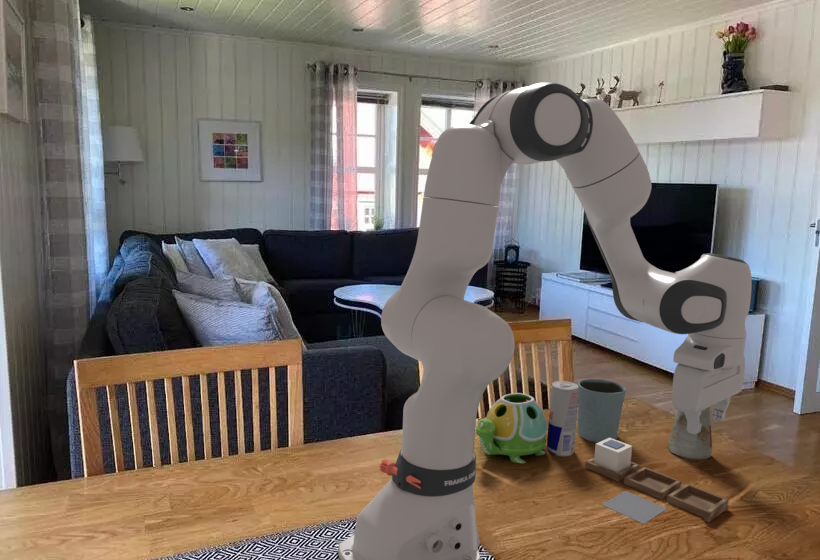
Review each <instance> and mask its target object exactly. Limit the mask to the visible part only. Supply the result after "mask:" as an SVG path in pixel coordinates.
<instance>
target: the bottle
mask: <svg viewBox="0 0 820 560" xmlns="http://www.w3.org/2000/svg"><path fill="white" fill-rule="evenodd" d="M710 407H711V406H710ZM710 407H708V408H706V409H704V410H702V411H701V415H700V416H699V420H700V423H702V426H701V431H700V432H699V433H697V434H692V433H689V432H688V431H687V419H686V416H685V412H682V411H679V410H676V414H675V419H674V422H673V424H672V428H671V431H670V434H669V436H668V437H669V438H668V440H667V447H668V448H667V449H668V450H669V451H670V452H671V453H672V454H674V455H676V456H678V457H680V458H684V459H688V460H689V459H690V460H695V461H697V460H698V461H701V460H708V459H709V458H710V457H711V456H712V453H713V439H712V438H713V437H712V423H711V408H710Z"/></svg>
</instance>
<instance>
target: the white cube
mask: <svg viewBox="0 0 820 560" xmlns="http://www.w3.org/2000/svg"><path fill="white" fill-rule="evenodd" d="M594 447H595V448H594V457H593V458H594V464H597V465H599V466H601V467H604V468H606V469H609V470H611V471H614V472H616V473H619V472H621V471H623V470H625V469H627V468H629V467H630V464H631V462H632V453H633V452H632V451H633V445H631V444H628V443H626V442H623V441H620V440H618V439H616V440H615V439H612V438H608V439H605V440H603V441H601V442H595V446H594Z"/></svg>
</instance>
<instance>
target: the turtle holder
mask: <svg viewBox="0 0 820 560" xmlns="http://www.w3.org/2000/svg"><path fill="white" fill-rule="evenodd" d="M477 424H478V426H476V427H475V434H476V435H477V437H479V444H480V448H481V450H482V451H483V452H484V453H485V454H486V455H488V456H493V455H502V456H508V457H509V460H510V462H512V463H515V464H526V463H527V462H526V460H524V459H522V458H521V456H529V455H533V454H534V455H535V456H543V455H545V454H546V453H547V452H546V450H544V448H545V447H546V446H547V434H548V422H547V419H546V415H545V413H544V411H543V408H542V407H541V406H540V404H539V403H538V402H537V401H536V400H535V398H534V397H533V396H532V395H530V394H526V393H522V392H514V393H513V392H512V393H508V394H504V395H502V396H500V398H499V399H497V400H496V401H495V402H494V403H493V404H492V405H491V407H490V408H489V410H488V411H487V414H486V416H485V418H480V419H479V421H478V423H477Z"/></svg>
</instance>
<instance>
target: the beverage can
mask: <svg viewBox="0 0 820 560" xmlns="http://www.w3.org/2000/svg"><path fill="white" fill-rule="evenodd" d="M578 395H579V389H578V383H574V382H572V381H565V380H557V381H553V382H551V387H550V399H549V409H548V410H549V411H548V422H547V435H546V451H547V452H548V453H549V454H552V455H554V456H559V457H570V456H572V455H573V454H575V453H574V452H575V443H576V442H575V440H576V433H577V431H576V430H577V420H578Z"/></svg>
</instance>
